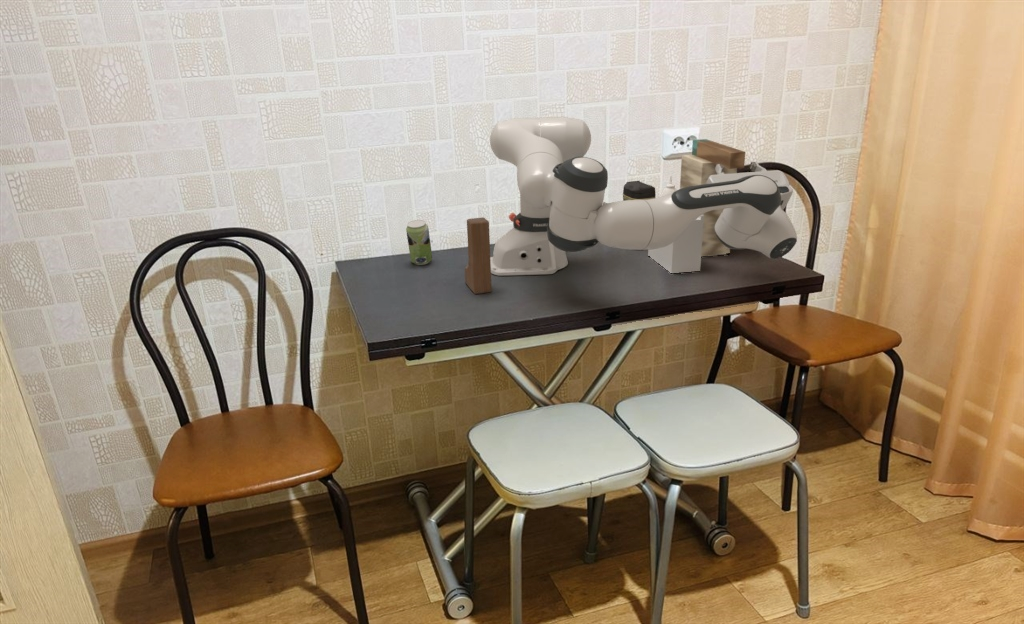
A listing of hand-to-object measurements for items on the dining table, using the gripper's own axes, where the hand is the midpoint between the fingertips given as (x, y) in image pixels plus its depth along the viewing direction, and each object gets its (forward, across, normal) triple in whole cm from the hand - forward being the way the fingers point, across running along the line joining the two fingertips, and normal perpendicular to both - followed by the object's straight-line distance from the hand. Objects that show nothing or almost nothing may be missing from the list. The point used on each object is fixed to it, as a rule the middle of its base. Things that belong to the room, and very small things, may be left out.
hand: (735, 164), depth 190 cm
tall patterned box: (-1, 0, -30) cm, 30 cm away
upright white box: (-10, -14, -25) cm, 30 cm away
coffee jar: (+7, -16, -35) cm, 39 cm away
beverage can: (+8, -80, -36) cm, 87 cm away
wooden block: (-13, -68, -23) cm, 73 cm away
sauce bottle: (+14, -3, -39) cm, 41 cm away
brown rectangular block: (+8, 0, -5) cm, 9 cm away
